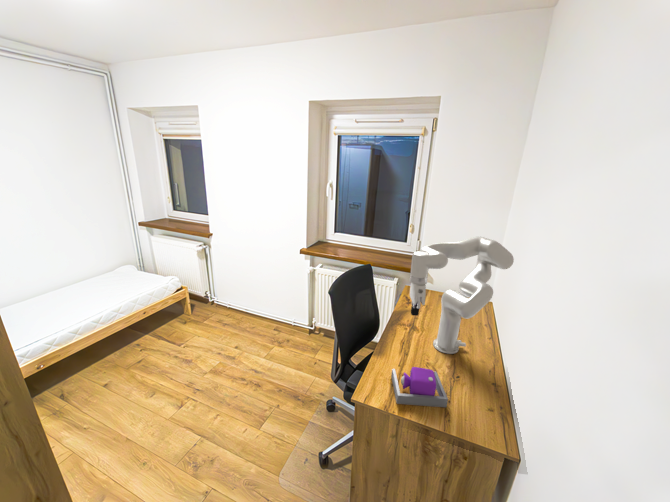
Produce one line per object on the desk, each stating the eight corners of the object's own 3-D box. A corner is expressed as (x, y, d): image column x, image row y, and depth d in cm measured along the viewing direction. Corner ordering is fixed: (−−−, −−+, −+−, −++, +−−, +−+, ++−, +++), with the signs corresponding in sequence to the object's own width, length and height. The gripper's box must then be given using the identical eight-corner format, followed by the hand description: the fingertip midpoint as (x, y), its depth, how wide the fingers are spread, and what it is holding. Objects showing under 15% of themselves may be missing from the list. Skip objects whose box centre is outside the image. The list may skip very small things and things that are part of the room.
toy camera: (397, 382, 123) (400, 363, 120) (429, 383, 123) (432, 364, 120) (403, 402, 113) (406, 381, 110) (437, 403, 113) (441, 383, 110)
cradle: (435, 379, 126) (436, 371, 125) (446, 407, 111) (448, 399, 110) (391, 376, 127) (392, 368, 125) (396, 403, 112) (397, 395, 111)
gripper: (431, 285, 122) (427, 323, 127) (422, 272, 136) (418, 307, 141) (414, 285, 122) (410, 323, 127) (406, 272, 136) (403, 306, 142)
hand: (414, 314), depth 134 cm, fingers closed
